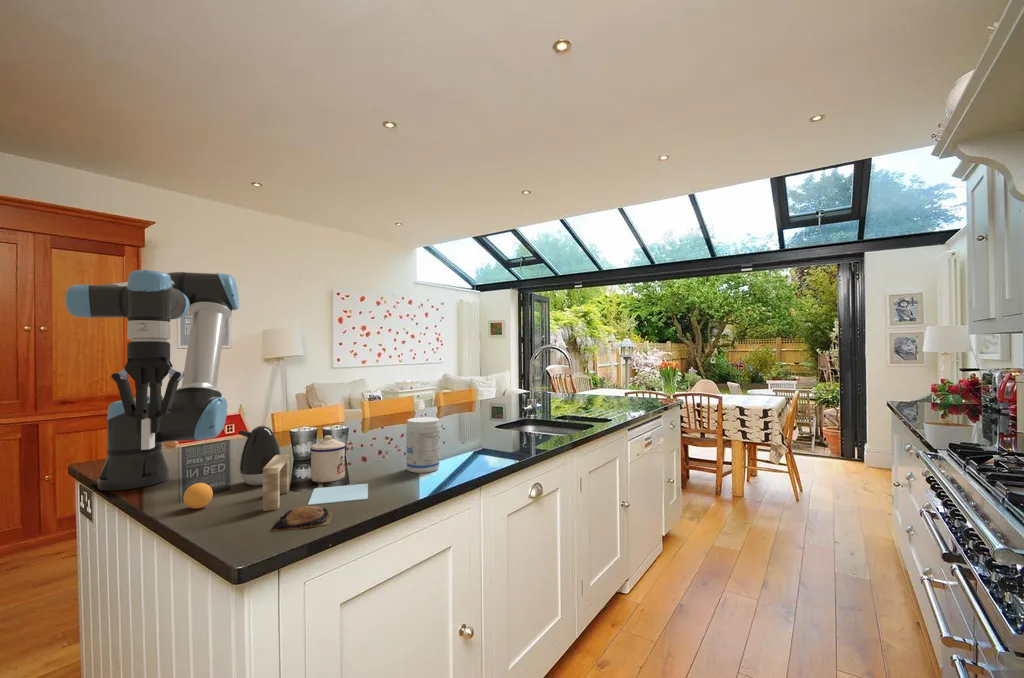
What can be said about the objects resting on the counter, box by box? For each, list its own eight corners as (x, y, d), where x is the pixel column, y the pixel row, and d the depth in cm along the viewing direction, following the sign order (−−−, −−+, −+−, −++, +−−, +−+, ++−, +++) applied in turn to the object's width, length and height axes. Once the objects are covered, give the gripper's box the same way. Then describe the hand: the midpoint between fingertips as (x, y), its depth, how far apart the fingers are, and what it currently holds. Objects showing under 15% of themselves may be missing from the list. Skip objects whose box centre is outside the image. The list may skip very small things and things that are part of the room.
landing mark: (314, 489, 117) (314, 488, 117) (367, 484, 121) (367, 483, 121) (307, 505, 105) (307, 504, 105) (367, 499, 109) (367, 498, 109)
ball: (188, 505, 106) (188, 481, 106) (216, 502, 108) (216, 479, 108) (179, 513, 101) (179, 488, 101) (208, 510, 102) (208, 485, 102)
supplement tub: (401, 469, 137) (400, 419, 137) (430, 463, 142) (429, 416, 143) (415, 475, 129) (415, 422, 129) (445, 470, 135) (445, 419, 135)
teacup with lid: (344, 481, 125) (344, 437, 125) (308, 484, 122) (308, 440, 122) (346, 470, 136) (346, 430, 136) (313, 473, 133) (313, 432, 134)
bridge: (262, 511, 101) (262, 468, 102) (275, 492, 115) (275, 455, 116) (277, 509, 102) (277, 467, 103) (288, 490, 116) (288, 454, 116)
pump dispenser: (241, 480, 127) (241, 424, 127) (283, 476, 131) (283, 422, 131) (235, 490, 117) (235, 430, 118) (281, 485, 121) (281, 427, 122)
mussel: (333, 515, 100) (333, 497, 100) (328, 529, 92) (328, 510, 92) (280, 519, 98) (280, 502, 98) (269, 534, 89) (269, 515, 89)
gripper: (104, 340, 97) (102, 454, 96) (176, 340, 101) (176, 449, 100) (122, 341, 104) (121, 447, 103) (189, 341, 108) (188, 443, 107)
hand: (148, 448), depth 101 cm, fingers closed
